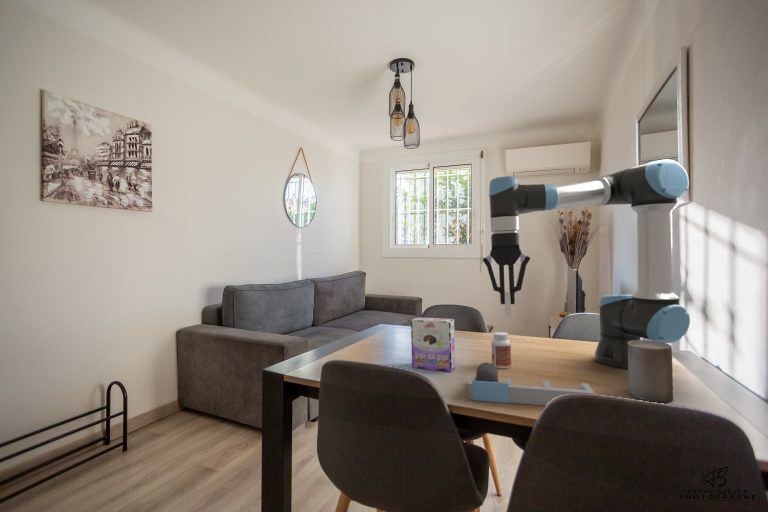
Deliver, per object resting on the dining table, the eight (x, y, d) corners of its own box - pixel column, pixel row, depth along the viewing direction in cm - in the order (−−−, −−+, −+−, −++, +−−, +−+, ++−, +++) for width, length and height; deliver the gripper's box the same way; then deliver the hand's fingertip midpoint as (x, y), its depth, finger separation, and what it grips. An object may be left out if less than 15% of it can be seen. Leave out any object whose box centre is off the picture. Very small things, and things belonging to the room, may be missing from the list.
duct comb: (588, 398, 99) (587, 379, 98) (595, 410, 91) (595, 389, 91) (470, 389, 107) (469, 371, 107) (468, 399, 100) (468, 380, 100)
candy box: (455, 367, 127) (455, 318, 127) (451, 372, 122) (450, 321, 122) (417, 362, 133) (416, 316, 133) (411, 367, 128) (410, 319, 128)
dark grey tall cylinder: (479, 384, 113) (474, 364, 113) (500, 380, 111) (494, 360, 112) (478, 399, 102) (472, 377, 102) (500, 395, 100) (494, 373, 100)
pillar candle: (679, 396, 99) (677, 339, 99) (664, 406, 93) (663, 345, 93) (637, 386, 107) (636, 333, 107) (621, 394, 101) (620, 338, 101)
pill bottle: (515, 366, 126) (514, 333, 126) (502, 370, 123) (502, 336, 123) (500, 362, 132) (499, 330, 132) (488, 365, 128) (487, 333, 128)
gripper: (527, 231, 109) (531, 313, 109) (481, 234, 112) (484, 313, 113) (530, 230, 102) (534, 318, 102) (480, 233, 105) (484, 318, 106)
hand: (508, 315), depth 107 cm, fingers closed
